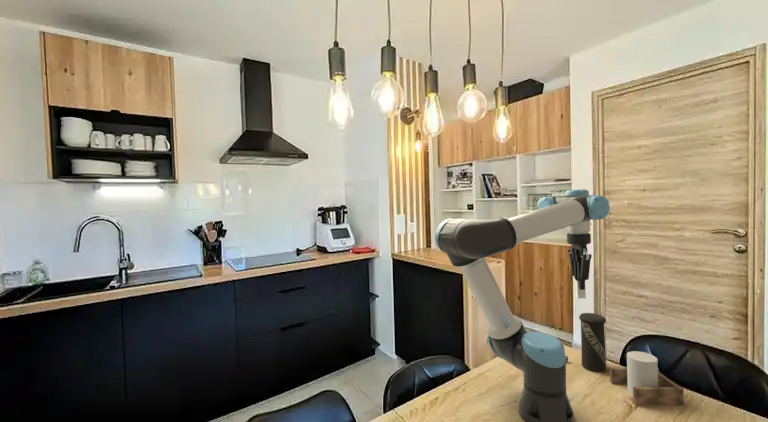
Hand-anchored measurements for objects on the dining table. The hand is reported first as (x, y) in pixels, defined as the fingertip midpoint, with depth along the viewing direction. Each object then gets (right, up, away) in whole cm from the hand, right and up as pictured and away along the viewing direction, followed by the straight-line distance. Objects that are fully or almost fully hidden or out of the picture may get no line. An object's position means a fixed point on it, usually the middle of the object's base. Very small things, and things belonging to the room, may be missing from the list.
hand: (580, 297), depth 127 cm
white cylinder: (+14, -29, -12) cm, 34 cm away
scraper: (-6, -29, +11) cm, 31 cm away
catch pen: (+14, -28, -12) cm, 34 cm away
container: (+9, -28, +7) cm, 30 cm away
